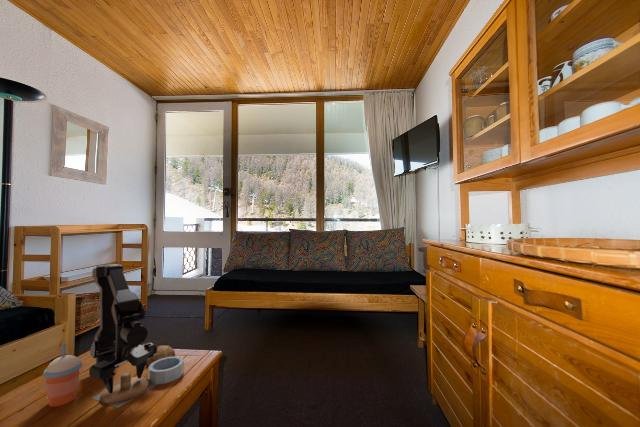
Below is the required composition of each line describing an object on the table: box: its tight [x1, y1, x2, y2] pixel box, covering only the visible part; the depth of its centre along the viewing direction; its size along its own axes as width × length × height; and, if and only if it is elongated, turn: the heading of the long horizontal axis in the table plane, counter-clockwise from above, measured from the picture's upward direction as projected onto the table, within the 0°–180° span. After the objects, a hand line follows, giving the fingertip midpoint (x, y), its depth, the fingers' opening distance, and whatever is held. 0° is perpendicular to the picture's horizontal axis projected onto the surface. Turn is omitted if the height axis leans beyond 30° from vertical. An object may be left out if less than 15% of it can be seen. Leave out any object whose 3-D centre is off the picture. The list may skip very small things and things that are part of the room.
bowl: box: [147, 355, 185, 385], centre depth 103 cm, size 11×11×4 cm
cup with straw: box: [42, 341, 83, 408], centre depth 89 cm, size 9×9×18 cm
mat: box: [91, 382, 158, 409], centre depth 93 cm, size 13×13×1 cm
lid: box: [100, 372, 149, 405], centre depth 93 cm, size 13×13×5 cm
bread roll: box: [146, 344, 176, 367], centre depth 114 cm, size 10×10×8 cm
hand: (125, 385), depth 93 cm, fingers open, 9 cm apart
